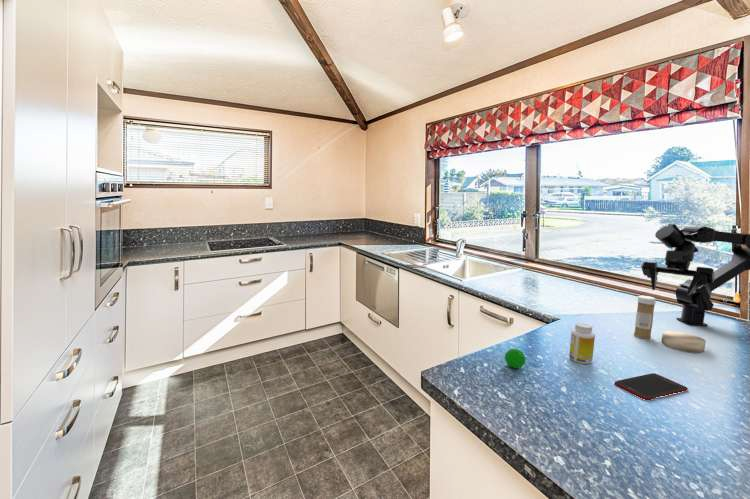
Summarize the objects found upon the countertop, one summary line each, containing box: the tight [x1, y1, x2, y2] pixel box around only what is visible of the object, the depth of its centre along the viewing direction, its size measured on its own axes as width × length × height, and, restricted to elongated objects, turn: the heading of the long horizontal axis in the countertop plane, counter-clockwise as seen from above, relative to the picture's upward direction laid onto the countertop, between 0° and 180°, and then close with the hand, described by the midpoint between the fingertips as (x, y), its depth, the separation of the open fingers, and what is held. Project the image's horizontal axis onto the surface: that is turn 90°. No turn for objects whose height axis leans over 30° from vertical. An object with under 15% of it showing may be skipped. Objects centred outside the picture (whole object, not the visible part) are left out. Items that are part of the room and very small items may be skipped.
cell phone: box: [614, 373, 689, 401], centre depth 83 cm, size 8×15×1 cm, turn 109°
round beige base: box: [660, 330, 707, 354], centre depth 106 cm, size 10×10×3 cm
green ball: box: [504, 348, 526, 369], centre depth 92 cm, size 5×5×5 cm
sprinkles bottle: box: [633, 295, 657, 340], centre depth 113 cm, size 5×5×13 cm
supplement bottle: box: [568, 322, 596, 365], centre depth 96 cm, size 6×6×10 cm
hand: (669, 292), depth 117 cm, fingers open, 9 cm apart
